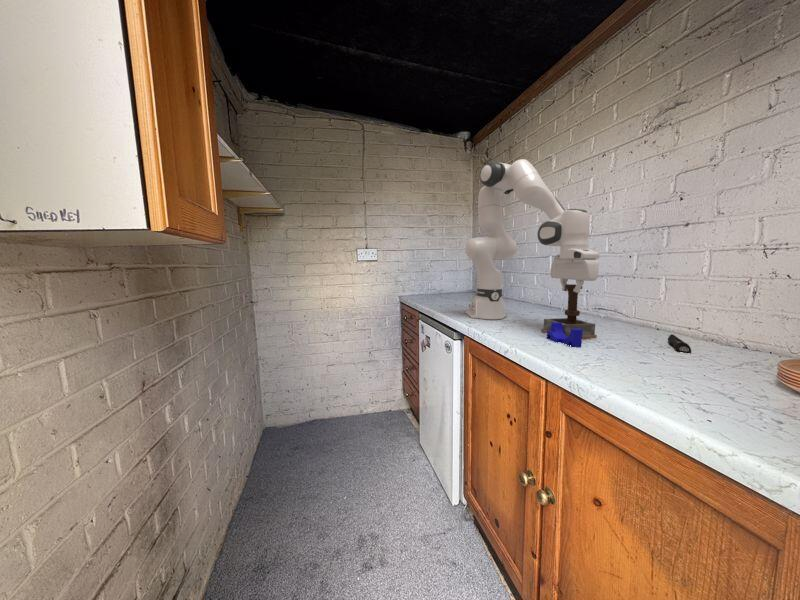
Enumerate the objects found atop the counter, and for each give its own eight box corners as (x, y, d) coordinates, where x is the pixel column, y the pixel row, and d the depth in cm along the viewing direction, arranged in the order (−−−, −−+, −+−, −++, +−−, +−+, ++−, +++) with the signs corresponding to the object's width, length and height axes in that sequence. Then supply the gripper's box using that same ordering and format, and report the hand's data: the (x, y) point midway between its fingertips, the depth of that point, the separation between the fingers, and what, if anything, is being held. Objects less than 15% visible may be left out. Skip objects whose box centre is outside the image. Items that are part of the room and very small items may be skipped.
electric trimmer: (678, 343, 105) (679, 334, 105) (692, 354, 92) (693, 344, 92) (664, 342, 107) (665, 333, 107) (675, 353, 94) (676, 342, 94)
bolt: (581, 326, 111) (584, 284, 109) (566, 325, 112) (568, 284, 110) (576, 323, 116) (578, 284, 115) (561, 323, 117) (563, 284, 116)
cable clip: (546, 338, 111) (547, 322, 110) (558, 338, 111) (559, 322, 110) (568, 348, 99) (569, 330, 98) (581, 347, 99) (582, 329, 99)
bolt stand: (541, 331, 121) (542, 318, 120) (570, 330, 123) (571, 317, 122) (564, 340, 108) (565, 325, 107) (596, 338, 110) (597, 324, 110)
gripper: (547, 254, 121) (545, 289, 123) (587, 253, 101) (584, 294, 103) (561, 254, 122) (559, 289, 124) (603, 253, 102) (600, 294, 104)
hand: (570, 291), depth 113 cm, fingers closed on bolt, 4 cm apart
